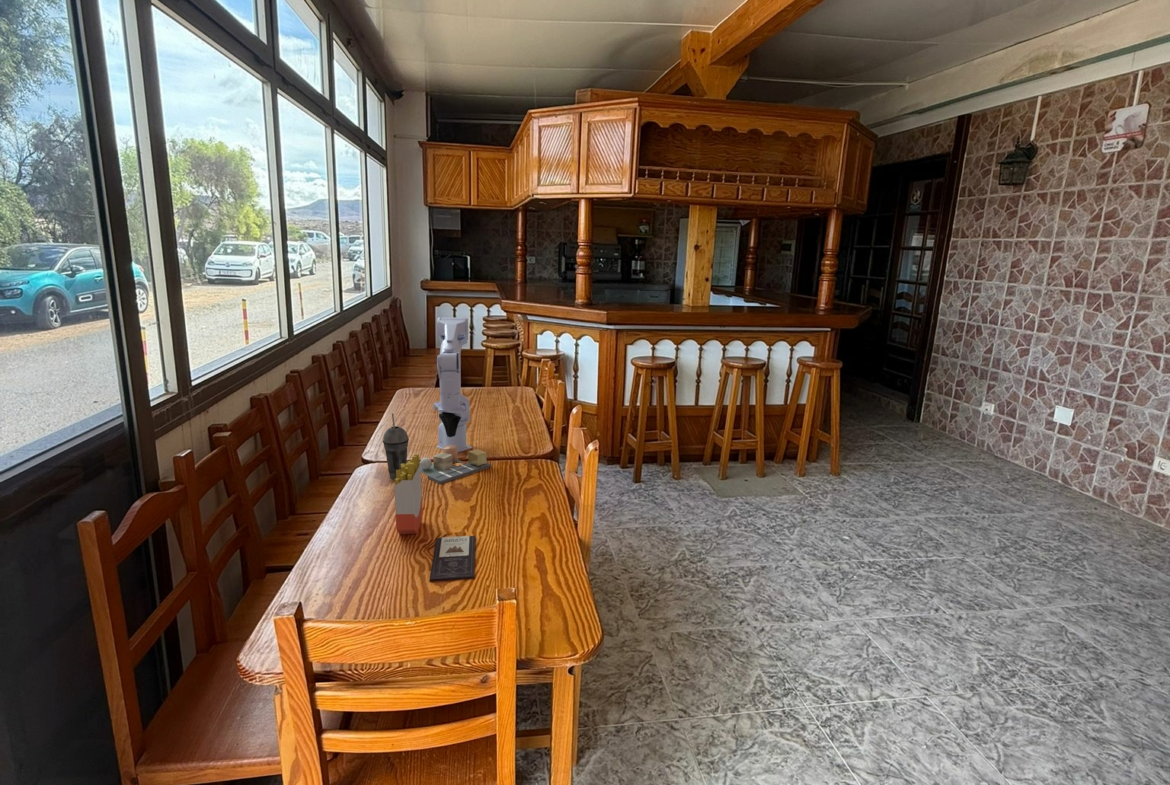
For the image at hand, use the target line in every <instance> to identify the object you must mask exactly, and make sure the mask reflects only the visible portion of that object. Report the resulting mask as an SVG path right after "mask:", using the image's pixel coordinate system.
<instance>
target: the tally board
mask: <svg viewBox="0 0 1170 785" xmlns="http://www.w3.org/2000/svg"><path fill="white" fill-rule="evenodd" d="M465 463H466V464H463V465H459V466H456V467H453V468H450V469H447V470H444V471H441V472H437V473H434V474H431V475H427V479H428V480H430V481H432V482H434V483H436V484H439V485H443V484H445V483H447V482H451V481H454V480H457V479H459V478H463V477H466V476H469V475H472V474H474V473H478V472H481V471H483V469H484V470H486V468H487V469H489V467H490V468H492V463H489V462H487V461H486V463H485V464H482V465H479V466H476V465H474V464H471V463H469V462H465ZM480 470H481V471H480Z"/></svg>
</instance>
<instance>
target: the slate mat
mask: <svg viewBox="0 0 1170 785" xmlns="http://www.w3.org/2000/svg"><path fill="white" fill-rule="evenodd" d="M457 463H465V462H464V461H462V460H459V459H458V462H457ZM453 467H456V466H455V465H453ZM453 467H452V468H453ZM420 469H421V474H422V473H423V474H424V475H426V476H428V475H431V474H434V473H437V472H441V471H442V470H437V469H434V462H432V465H431V467H430V468H429V469H427V470H424V469H422V468H421V467H420Z"/></svg>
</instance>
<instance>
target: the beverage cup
mask: <svg viewBox="0 0 1170 785" xmlns="http://www.w3.org/2000/svg"><path fill="white" fill-rule="evenodd" d="M391 419H392V426H391V427H389V428H388V429H387V430H386V431H384V434H383V436H382V437H383V438H382V443H383V447H384V449H385V457H386V463H387V468H388V469H387V470H388V475H389V479H391V480H394V481H395V479H396V478H397V477H396V470H400V469H401V466H400V465H401V464H406V463H407V461H408V447H409V441H410V439H409V435H408V433H407V431H406V430H405V429H404V428H402V427H400V426H398V425H397V426H396V425H395V424H396V423H395V416H394V412H392V413H391Z"/></svg>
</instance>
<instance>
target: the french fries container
mask: <svg viewBox="0 0 1170 785" xmlns="http://www.w3.org/2000/svg"><path fill="white" fill-rule="evenodd" d="M400 466H401V469H400V470H396V477H397V478H396V479H395V480H394V484H395V485H394V505H395V508H394V509H395V510H394V511H395V512H394V513H395V525H396V529H395V530H396V531H397V533H398V534H399V535H417V534H418V532H419V529H420V526H421V525H422V515H423V495H422V493H423V492H422V472H421V469H420V454H419V453H414V454H413V455H412V456H411V460H407V463H406V464H401V465H400Z"/></svg>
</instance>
